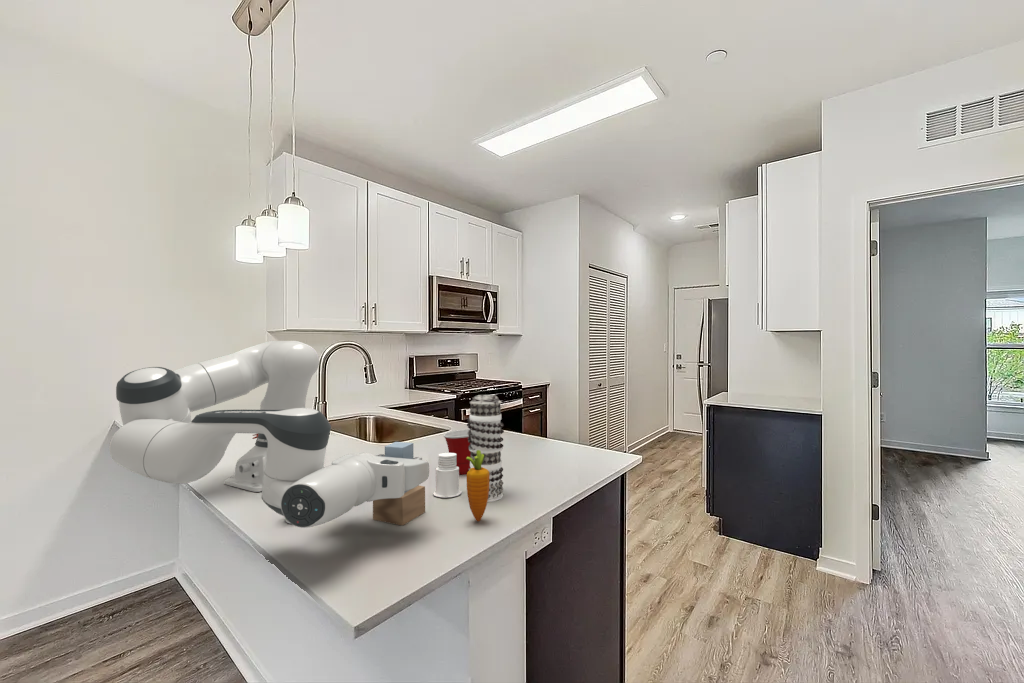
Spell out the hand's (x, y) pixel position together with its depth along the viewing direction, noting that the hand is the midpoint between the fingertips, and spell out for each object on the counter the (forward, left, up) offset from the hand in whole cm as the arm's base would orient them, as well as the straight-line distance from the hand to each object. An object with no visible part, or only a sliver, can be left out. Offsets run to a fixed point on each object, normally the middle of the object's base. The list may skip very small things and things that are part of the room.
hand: (400, 459), depth 99 cm
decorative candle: (+14, +16, -13) cm, 25 cm away
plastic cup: (0, +34, -13) cm, 36 cm away
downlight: (+4, +15, -13) cm, 20 cm away
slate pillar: (0, -1, -7) cm, 7 cm away
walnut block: (0, 0, -13) cm, 13 cm away
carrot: (+18, +2, -13) cm, 22 cm away
